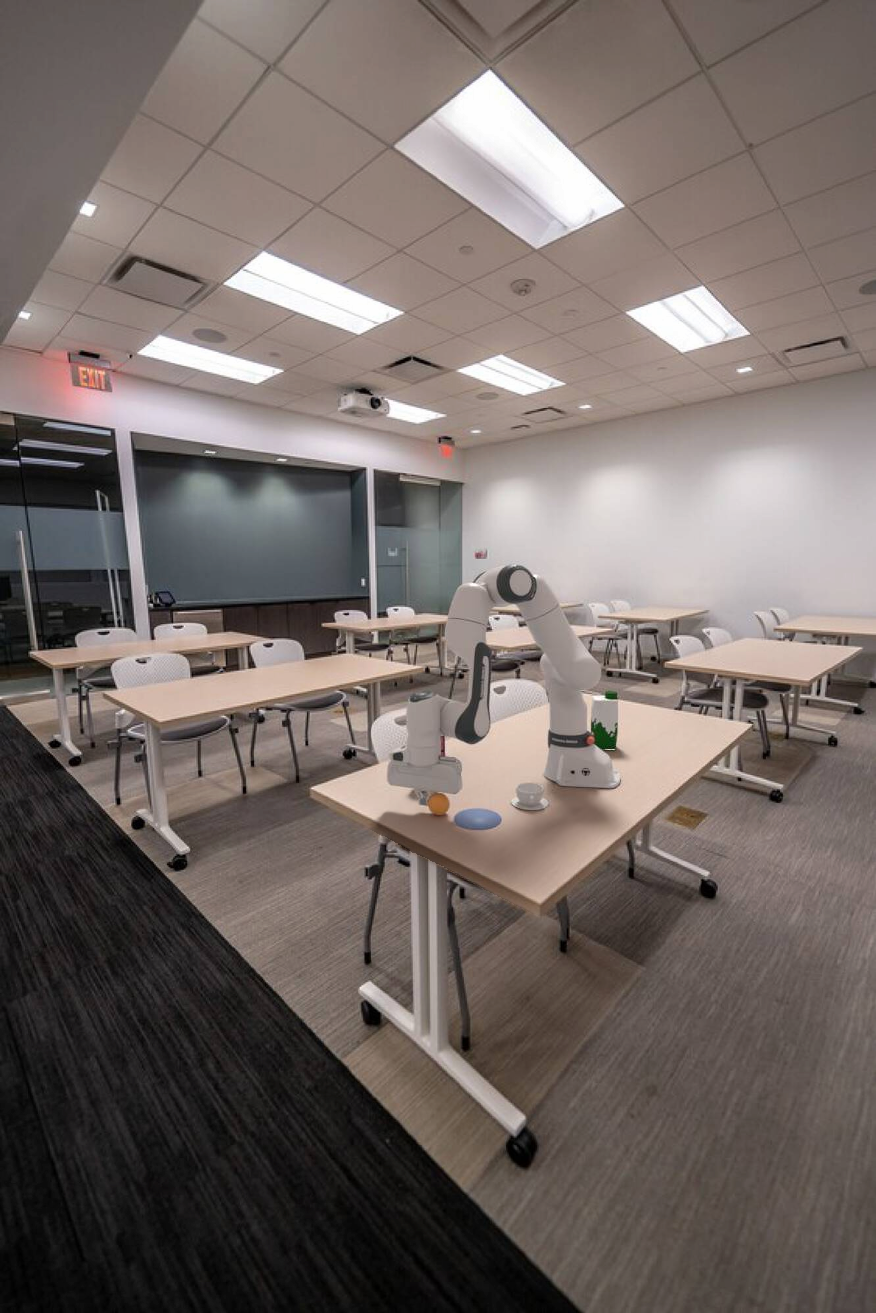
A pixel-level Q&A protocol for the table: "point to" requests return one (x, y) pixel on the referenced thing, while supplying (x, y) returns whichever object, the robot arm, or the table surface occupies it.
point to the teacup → (529, 797)
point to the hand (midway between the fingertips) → (424, 804)
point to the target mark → (477, 819)
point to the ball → (438, 803)
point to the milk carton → (605, 720)
